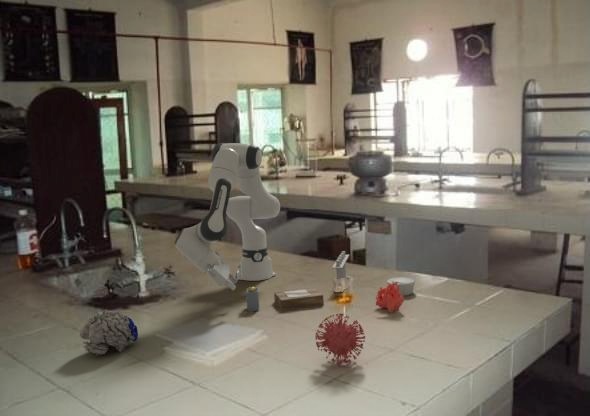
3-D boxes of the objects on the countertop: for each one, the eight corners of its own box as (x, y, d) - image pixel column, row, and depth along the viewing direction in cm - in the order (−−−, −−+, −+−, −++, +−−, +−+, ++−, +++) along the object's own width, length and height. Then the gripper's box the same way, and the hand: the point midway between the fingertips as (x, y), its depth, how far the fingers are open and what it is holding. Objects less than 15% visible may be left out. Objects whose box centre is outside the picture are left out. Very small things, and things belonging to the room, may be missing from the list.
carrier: (247, 306, 250) (246, 288, 249) (259, 306, 250) (258, 288, 249) (247, 311, 245) (246, 292, 244) (258, 310, 245) (257, 291, 244)
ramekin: (386, 296, 256) (385, 283, 256) (388, 288, 267) (388, 276, 266) (414, 297, 254) (413, 284, 253) (415, 289, 264) (415, 277, 264)
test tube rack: (340, 277, 289) (339, 249, 287) (350, 278, 288) (349, 249, 286) (332, 292, 265) (331, 262, 263) (343, 293, 264) (342, 262, 262)
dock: (274, 302, 255) (274, 292, 254) (314, 297, 260) (313, 287, 259) (282, 310, 244) (281, 299, 243) (323, 304, 248) (323, 294, 248)
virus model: (306, 363, 189) (304, 316, 187) (339, 349, 199) (337, 304, 197) (343, 376, 179) (341, 326, 177) (375, 361, 189) (374, 313, 187)
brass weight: (248, 290, 248) (248, 286, 248) (256, 290, 248) (255, 286, 248) (248, 292, 245) (248, 288, 245) (255, 292, 245) (255, 288, 245)
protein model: (378, 309, 244) (381, 279, 245) (406, 314, 237) (409, 283, 238) (367, 309, 237) (370, 278, 238) (396, 314, 230) (399, 282, 231)
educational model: (138, 364, 210) (151, 320, 214) (95, 357, 194) (109, 309, 197) (109, 356, 218) (122, 313, 221) (65, 349, 201) (79, 302, 205)
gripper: (211, 262, 234) (239, 286, 235) (216, 251, 254) (242, 273, 256) (200, 274, 234) (228, 298, 236) (206, 262, 255) (232, 284, 256)
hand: (235, 285), depth 246 cm, fingers open, 8 cm apart
